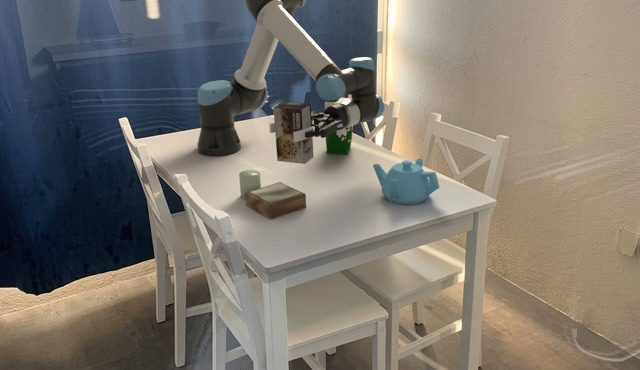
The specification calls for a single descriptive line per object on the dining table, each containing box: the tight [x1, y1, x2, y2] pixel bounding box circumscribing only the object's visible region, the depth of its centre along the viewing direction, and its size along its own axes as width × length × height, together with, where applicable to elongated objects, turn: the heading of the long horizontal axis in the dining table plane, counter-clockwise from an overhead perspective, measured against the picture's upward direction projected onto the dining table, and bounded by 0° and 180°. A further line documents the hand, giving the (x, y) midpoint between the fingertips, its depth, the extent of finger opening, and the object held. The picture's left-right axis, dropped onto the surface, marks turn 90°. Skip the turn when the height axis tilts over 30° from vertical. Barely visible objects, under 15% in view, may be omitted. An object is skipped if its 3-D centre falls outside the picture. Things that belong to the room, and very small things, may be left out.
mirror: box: [245, 181, 307, 220], centre depth 176 cm, size 12×12×4 cm
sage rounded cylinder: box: [238, 169, 262, 201], centre depth 183 cm, size 6×6×7 cm
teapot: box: [372, 158, 440, 206], centre depth 180 cm, size 15×15×11 cm
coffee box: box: [272, 101, 314, 165], centre depth 179 cm, size 9×6×16 cm
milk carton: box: [324, 97, 353, 155], centre depth 216 cm, size 9×9×20 cm
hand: (282, 132), depth 177 cm, fingers closed on coffee box, 10 cm apart
